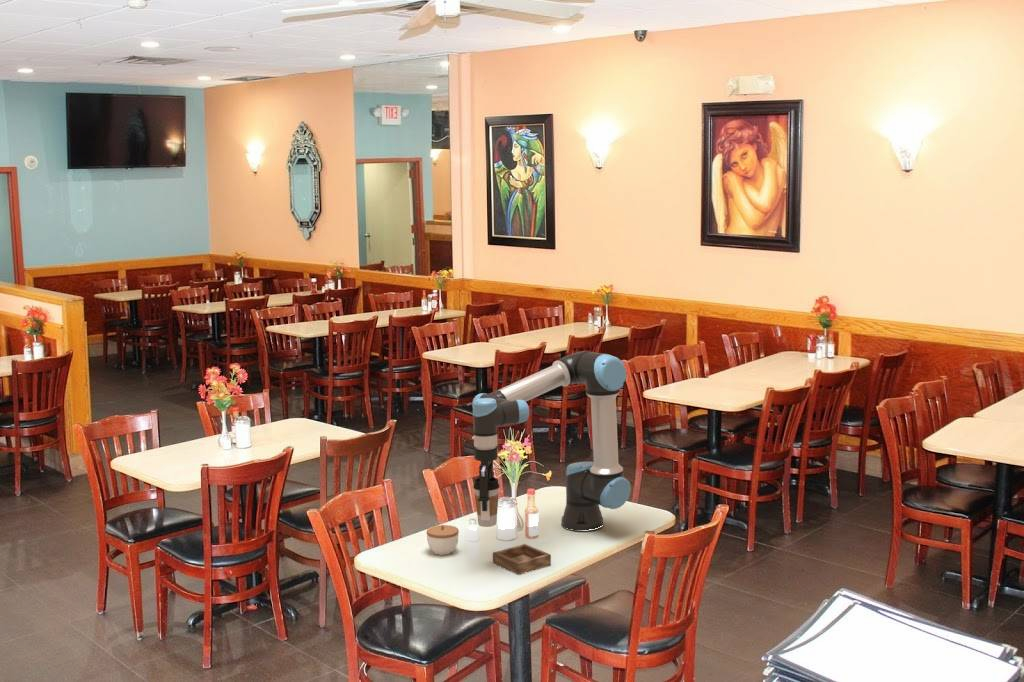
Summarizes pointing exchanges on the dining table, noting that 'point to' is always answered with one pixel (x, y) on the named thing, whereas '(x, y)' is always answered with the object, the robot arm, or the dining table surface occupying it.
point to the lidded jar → (442, 539)
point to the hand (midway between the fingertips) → (487, 515)
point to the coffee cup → (493, 502)
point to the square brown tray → (521, 559)
